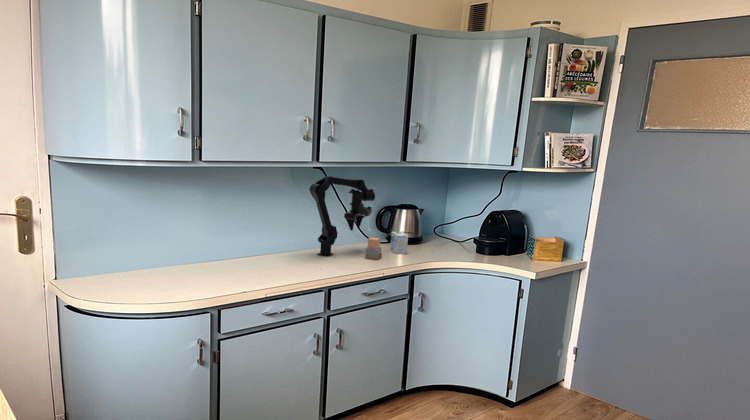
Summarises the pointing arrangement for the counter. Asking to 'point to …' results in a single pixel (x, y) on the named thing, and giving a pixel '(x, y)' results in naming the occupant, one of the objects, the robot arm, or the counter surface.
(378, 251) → the slate grey block
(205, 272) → the counter surface
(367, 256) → the walnut block
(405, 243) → the light bulb box
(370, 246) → the terracotta cube
